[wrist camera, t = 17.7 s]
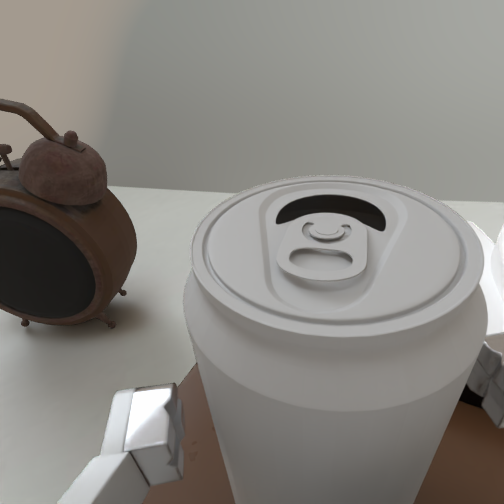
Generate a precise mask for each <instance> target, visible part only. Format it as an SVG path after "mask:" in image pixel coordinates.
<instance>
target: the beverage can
mask: <svg viewBox="0 0 504 504" xmlns="http://www.w3.org/2000/svg"><path fill="white" fill-rule="evenodd" d="M190 260H191V265H192V269H191V271H190V274H189V276H188V278H187V281H186V285H185V289H184V296H183V307H184V315H185V320H186V324H187V328H188V331H189V335H190V339H191V342H192V346H193V350H194V353H195V357H196V361H197V364H198V368H199V372H200V375H201V379H202V383H203V386H204V390H205V393H206V397H207V401H208V404H209V408H210V412H211V415H212V419H213V423H214V426H215V430H216V434H217V437H218V441H219V445H220V448H221V452H222V456H223V459H224V463H225V467H226V470H227V474H228V478H229V481H230V485H231V489H232V492H233V496H234V500H235V503H236V504H413V503H414V501H415V498H416V496H417V494H418V491H419V489H420V487H421V485H422V482H423V480H424V478H425V476H426V473H427V471H428V469H429V466H430V464H431V462H432V460H433V457H434V455H435V453H436V450H437V448H438V446H439V444H440V441H441V439H442V437H443V434H444V432H445V430H446V428H447V425H448V423H449V421H450V419H451V416H452V414H453V412H454V409H455V407H456V405H457V403H458V400H459V398H460V396H461V393H462V391H463V389H464V387H465V384H466V382H467V380H468V378H469V375H470V373H471V371H472V368H473V366H474V364H475V362H476V359H477V357H478V355H479V352H480V350H481V348H482V346H483V343H484V339H485V336H486V332H487V326H488V311H487V304H486V300H485V296H484V293H483V291H482V288H481V286H480V284H479V282H480V279H481V277H482V274H483V269H484V252H483V248H482V245H481V242H480V240H479V238H478V236H477V234H476V233H475V231H474V230H473V228H472V227H471V226H470V225H469V224H468V223H467V222H466V221H465V220H464V219H463V218H462V217H461V216H460V215H459V214H458V213H457V212H455V211H454V210H453V209H451V208H450V207H448V206H447V205H445V204H444V203H442V202H440V201H438V200H437V199H435V198H433V197H431V196H429V195H426V194H424V193H422V192H419V191H416V190H414V189H411V188H408V187H405V186H402V185H397V184H394V183H390V182H386V181H381V180H377V179H371V178H364V177H356V176H343V175H315V176H302V177H294V178H287V179H282V180H277V181H272V182H268V183H265V184H261V185H258V186H255V187H252V188H249V189H247V190H244V191H242V192H240V193H238V194H235V195H233V196H231V197H230V198H228V199H226V200H224V201H223V202H221V203H220V204H218V205H217V206H216V207H215V208H213V209H212V210H211V211H210V212H209V213H208V214H207V215H206V216H205V217H204V218H203V219H202V220H201V221H200V223H199V224H198V226H197V228H196V230H195V232H194V234H193V236H192V239H191V244H190Z"/></svg>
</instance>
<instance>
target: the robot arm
mask: <svg viewBox="0 0 504 504" xmlns="http://www.w3.org/2000/svg"><path fill="white" fill-rule="evenodd" d="M466 384H467V386H468V387H469V389H470V390H471V391H473V392H474V393H476V394H477V395H479V396H481V406H482V407H483V409H484V410H485V411H486V413H487V414H488V416H489V417H490V419H491V420H492V421H493V423H494V424H495V426H496V427H497V428H504V332H500V333H494V334H489V335H486V336H485V339H484V343H483V346H482V348H481V350H480V352H479V355H478V357H477V359H476V362H475V364H474V366H473V368H472V371H471V373H470V375H469V378H468V380H467V382H466ZM184 436H185V412H184V407H183V403H182V400H181V399H179V398H178V389H177V386H176V384H175V383H170V384H163V385H155V386H148V387H140V388H132V389H125V390H119V391H116V393H115V395H114V397H113V400H112V404H111V408H110V413H109V417H108V421H107V426H106V430H105V434H104V438H103V443H102V447H101V451H100V456H96V457H93V458H92V459H91V461H90V462H89V463H88V464H87V466H86V467H85V468H84V469H83V471H82V472H81V473H80V474H79V476H78V477H77V478H76V479H75V481H74V482H73V483H72V484H71V486H70V487H69V488H68V489H67V491H66V492H65V493H64V495H63V496H62V497H61V498H60V500H59V501H58V502H57V503H56V504H142V503H143V501H144V499H145V497H146V495H147V494H148V492H149V490H150V486H155V485H160V484H165V483H171V482H176V481H181V480H183V471H184V451H183V448H182V445H181V443H180V442H181V441H182V439H183V438H184Z"/></svg>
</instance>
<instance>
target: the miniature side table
mask: <svg viewBox="0 0 504 504" xmlns="http://www.w3.org/2000/svg"><path fill="white" fill-rule="evenodd" d="M177 389H178V398H179V399H181V400H182V403H183V407H184V412H185V436H184V438H183V439H182V441H181V442H180V443H181V445H182V448H183V451H184V471H183V480H181V481H176V482H171V483H165V484H160V485H155V486H150V490H149V492H148V494H147V495H146V497H145V499H144V501H143V503H142V504H236V503H235V500H234V496H233V492H232V489H231V485H230V481H229V478H228V474H227V470H226V467H225V463H224V459H223V456H222V452H221V448H220V445H219V441H218V437H217V434H216V430H215V426H214V423H213V419H212V415H211V412H210V408H209V404H208V401H207V397H206V393H205V390H204V386H203V383H202V379H201V375H200V372H199V368H198V364H197V363H196V364H195V365H194V367H193V368H192V369H191V371H190V372H189V373H188V375H187V376H186V377H185V378H184V380H183V381H182V382H181V384H180V385H179V386H178V388H177ZM413 504H504V428H497V427H496V426H495V424H494V423H493V421H492V420H491V419H490V417H489V416H488V414H487V413H486V411H485V410H484V409H483V407H482V406H481V396H479V395H477V394H476V393H474V392H473V391H471V390H470V389H469V387H468V386H467V384H465V387H464V389H463V391H462V393H461V396H460V398H459V400H458V403H457V405H456V407H455V409H454V412H453V414H452V416H451V419H450V421H449V423H448V425H447V428H446V430H445V432H444V434H443V437H442V439H441V441H440V444H439V446H438V448H437V450H436V453H435V455H434V457H433V460H432V462H431V464H430V466H429V469H428V471H427V473H426V476H425V478H424V480H423V482H422V485H421V487H420V489H419V491H418V494H417V496H416V498H415V501H414V503H413Z"/></svg>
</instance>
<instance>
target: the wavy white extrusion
mask: <svg viewBox="0 0 504 504" xmlns="http://www.w3.org/2000/svg"><path fill="white" fill-rule="evenodd" d="M466 222H467V223H468V224H469V225H470V226H471V227H472V228H473V230H474V231H475V233H476V234H477V236H478V238H479V240H480V242H481V245H482V248H483V252H484V269H483V274H482V277H481V279H480V282H479V284H480V286H481V288H482V291H483V293H484V296H485V300H486V304H487V311H488V326H487V332H486V335H489V334H494V333H500V332H504V225H503V226H502V228H501V230H500V233H499V236H498V238H497V241H496V244H494V242H493V241H492V240H491V239H490V238H489V237H488V236H487V235H486V234H485V233H484V232H483V231H482V230H481V229H480V228H479V227H478V226H477V225H475V224H474V223H473V222H472V221H466Z"/></svg>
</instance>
